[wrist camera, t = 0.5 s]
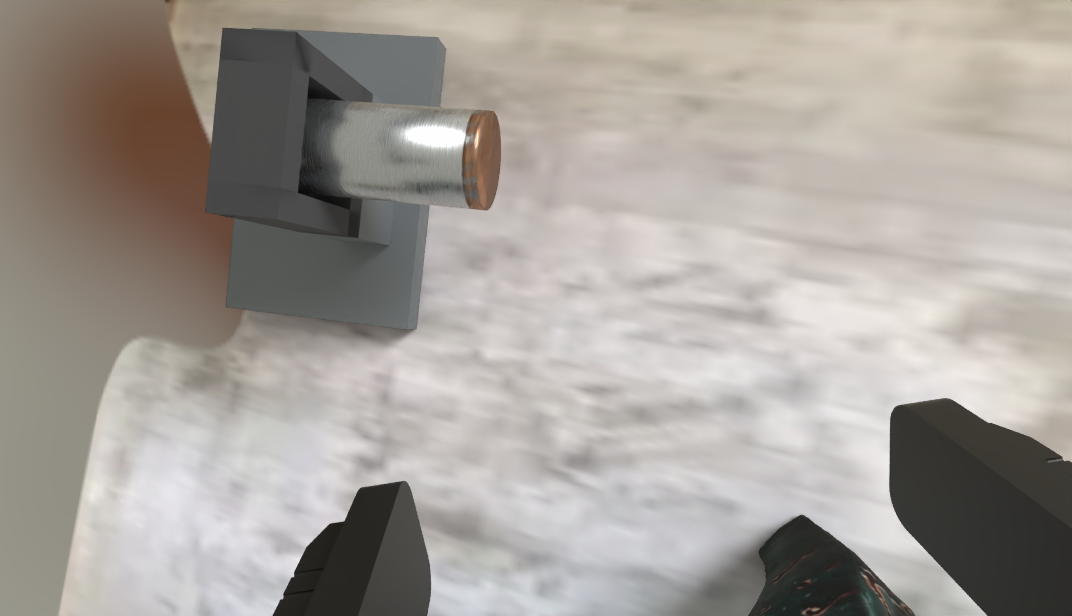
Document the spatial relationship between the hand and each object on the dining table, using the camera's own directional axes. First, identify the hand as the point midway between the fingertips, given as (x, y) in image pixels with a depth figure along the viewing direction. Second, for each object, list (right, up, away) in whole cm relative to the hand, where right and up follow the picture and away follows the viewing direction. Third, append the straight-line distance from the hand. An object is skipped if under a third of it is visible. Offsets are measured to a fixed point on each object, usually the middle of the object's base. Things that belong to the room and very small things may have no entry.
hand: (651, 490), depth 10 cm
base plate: (-13, +10, +26) cm, 31 cm away
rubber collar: (-12, +10, +20) cm, 25 cm away
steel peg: (-9, +10, +18) cm, 22 cm away
